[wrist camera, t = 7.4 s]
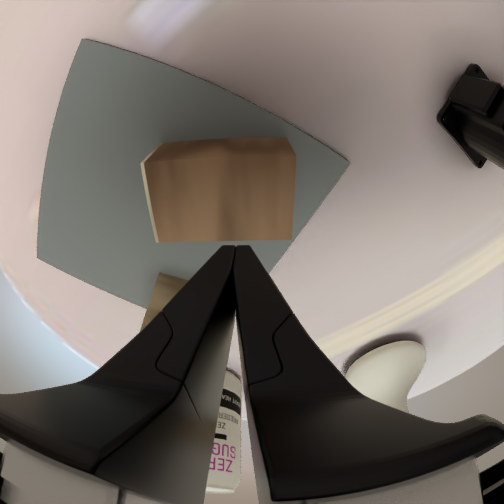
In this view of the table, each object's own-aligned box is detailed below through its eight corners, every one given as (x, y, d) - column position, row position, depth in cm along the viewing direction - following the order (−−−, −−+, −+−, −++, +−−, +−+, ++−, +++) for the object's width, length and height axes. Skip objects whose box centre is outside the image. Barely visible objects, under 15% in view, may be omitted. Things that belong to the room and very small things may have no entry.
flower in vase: (397, 377, 37) (432, 524, 17) (329, 383, 36) (353, 553, 16) (442, 320, 30) (507, 500, 9) (367, 323, 29) (422, 553, 8)
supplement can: (186, 392, 37) (176, 490, 25) (170, 361, 32) (152, 479, 20) (243, 392, 37) (243, 494, 25) (237, 361, 32) (235, 487, 20)
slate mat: (348, 160, 19) (350, 163, 18) (220, 331, 29) (219, 335, 28) (86, 38, 13) (82, 38, 12) (39, 254, 23) (36, 257, 22)
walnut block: (160, 143, 17) (286, 137, 17) (170, 211, 20) (284, 207, 20) (140, 163, 14) (296, 156, 14) (155, 242, 17) (291, 239, 17)
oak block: (217, 287, 24) (209, 357, 19) (204, 323, 27) (196, 387, 21) (159, 272, 23) (137, 339, 18) (153, 310, 26) (136, 373, 20)
